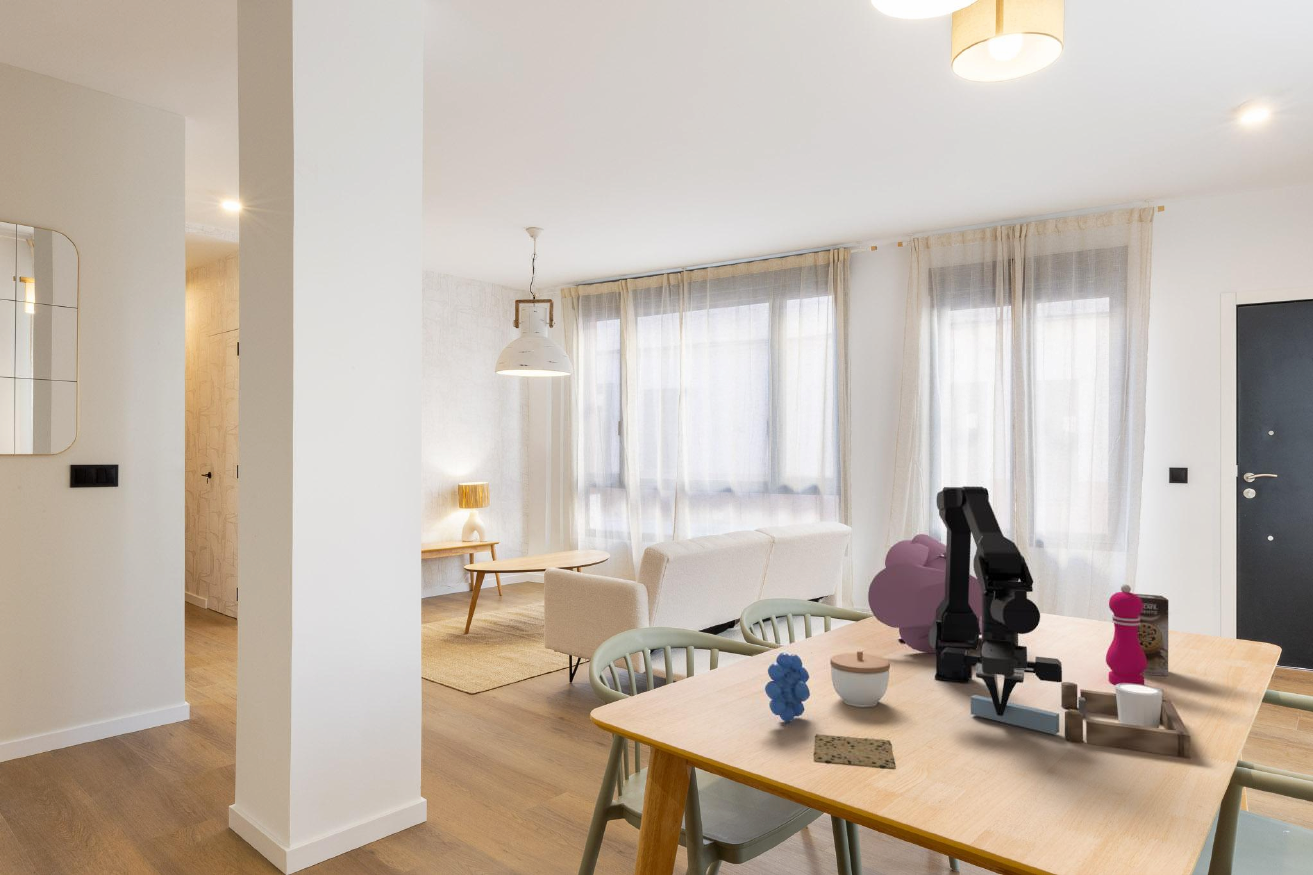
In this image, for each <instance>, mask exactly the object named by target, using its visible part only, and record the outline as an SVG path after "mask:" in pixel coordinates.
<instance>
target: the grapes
mask: <svg viewBox="0 0 1313 875" xmlns="http://www.w3.org/2000/svg"><path fill="white" fill-rule="evenodd" d="M775 661H776V662H773V663H772V664H770V665H769V667H768V668H767V673H768V676H769V678H770V680H769V681H768V682H767V684H766V685H765V687H764V690H765V693H766V696H767V697H768V698H769V699H771V700H770V701H769V703H768V705H769V709H770V711H771V712H772V714H773V715H775V716H779V718H780V719H781V720H782V721H783V722H785V723H790V722H791V721H793V719H794V718H795V717H800V716H802V715H803V713H804V712H805V707H804V704H803V702H806V701H807V700H808V699H809V698H810V696H811V693H810V689H809V686H808V685H807V682H808V681H809V679H810V674H809V672H808V671H807V669H806V668H805V667H804V666H803V660H802V659H801V658H800V656H798V655H797V654H790V655H789V654H788V653H787V652H781V653H779V654H778V656H777V657H776V659H775Z"/></svg>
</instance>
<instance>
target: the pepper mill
mask: <svg viewBox="0 0 1313 875" xmlns="http://www.w3.org/2000/svg"><path fill="white" fill-rule="evenodd" d="M1131 590H1132V588H1131V586H1130V585H1129V584H1122V585H1121V586H1120V591H1118V593H1116V592H1115V593H1114V594H1112V595H1111V596H1110V597H1109V600H1108V607H1109V610H1110V611H1111V612H1112V613H1113V614H1112V615H1111V618H1112V619H1111V622H1112V623H1113V625H1114V631H1113V639H1112V640H1111V643H1110V645H1109V647H1108V649H1107V651H1106V653H1105V654H1106V655H1105V663H1106V665H1107V666H1108V667H1109V668H1110V671H1109V672H1108V682H1109V683H1110V684H1112V685H1114V686H1115V685H1117V684H1122V683H1130V684H1140V685H1145V676H1144V675H1143V673H1142V672H1144V671H1145V670H1146V668H1147V659H1146V656H1145V654H1144V652H1143V650H1142V648H1141V645H1140V643H1139V640H1138V632H1137V631H1138V625H1140V621H1139V620H1140V618H1139V617H1138V616H1139V614H1140V613H1141V612H1142V611H1143V603H1142V600H1141V599H1140V598H1139V597H1138V596H1137V595H1135V594H1136V593H1133V592H1131Z"/></svg>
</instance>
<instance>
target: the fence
mask: <svg viewBox="0 0 1313 875" xmlns="http://www.w3.org/2000/svg"><path fill="white" fill-rule="evenodd" d="M1060 685H1061V686H1060V688H1061V689H1060V690H1061V696H1060V697H1061V701H1060V702H1061V705H1060V706H1061V707H1062V708H1063V709H1066V711H1064V739H1065V740H1066V741H1067V742H1069V743H1070V742H1071V743H1078V744H1079V743H1083V742H1084V719H1085V736H1086V737H1085V740H1086V744H1091V745H1097V746H1104V747H1111V748H1112V747H1113V748H1118V749H1125V750H1131V751H1132V750H1133V751H1139V752H1144V753H1145V752H1146V753H1153V754H1160V755H1167V756H1172V757H1179V758H1180V757H1181V758H1185V759H1186V758H1188V759H1191V758H1192V757H1191V756H1192V753H1191V750H1192V748H1191V741H1192V740H1191V734H1190V732H1189V731H1188V729H1187V726H1186V725H1185V723H1184V722H1183V720H1182V718H1181V716H1180V714H1179V712H1178V711H1177V709H1176V707H1175V706H1174V703H1173V701H1172V700H1171V699H1166V698H1164V699H1163V698H1162V703H1161V713H1160V722H1161V723H1162V726H1163V728H1160V727H1159V728H1152V727H1144V726H1137V725H1129V724H1122V723H1119V722H1113V721H1108V720H1107V721H1105V720H1098V719H1090V718H1086V712H1088V711H1089V712H1090V713H1096V714H1105V715H1110V716H1111V715H1112V716H1118V708H1117V699H1116V692H1105V691H1097V690H1091V689H1090V690H1089V689H1088V690H1087V689H1080V696H1078V684H1077V683H1075V682H1070V681H1062V682H1060ZM1077 709H1078V710H1077Z"/></svg>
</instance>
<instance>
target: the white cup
mask: <svg viewBox="0 0 1313 875" xmlns="http://www.w3.org/2000/svg"><path fill="white" fill-rule="evenodd" d="M1114 688H1115V694H1116V699H1117V708H1118V715H1117V718H1118V723H1122V724H1129V725H1137V726H1144V727H1152V728H1159V729H1160V724H1161V723H1160V722H1161V721H1160V713H1161V703H1162V699H1163V691H1162V689H1159V688H1157V687H1152V686H1148V685H1145V684H1144V685H1140V684H1130V683H1122V684H1117V685H1115V684H1114Z"/></svg>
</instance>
